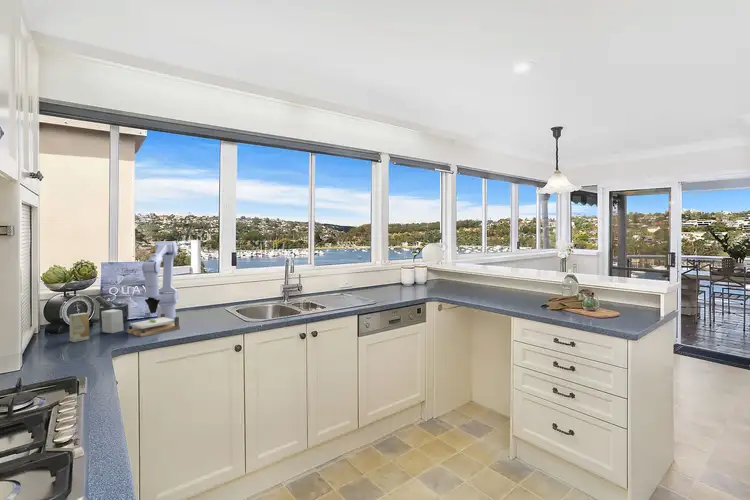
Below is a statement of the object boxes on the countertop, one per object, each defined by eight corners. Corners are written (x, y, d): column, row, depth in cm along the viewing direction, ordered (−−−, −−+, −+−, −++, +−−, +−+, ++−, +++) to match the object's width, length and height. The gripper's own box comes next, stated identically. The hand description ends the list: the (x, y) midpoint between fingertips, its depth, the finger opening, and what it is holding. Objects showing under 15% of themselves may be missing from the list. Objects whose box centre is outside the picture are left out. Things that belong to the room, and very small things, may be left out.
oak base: (126, 332, 187) (126, 320, 186) (164, 324, 201) (163, 313, 201) (141, 336, 177) (140, 324, 177) (179, 328, 192) (179, 316, 192)
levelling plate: (130, 325, 186) (129, 321, 186) (164, 318, 200) (164, 314, 200) (141, 329, 179) (141, 324, 179) (176, 321, 192) (176, 317, 192)
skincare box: (73, 342, 170) (72, 315, 169) (69, 341, 172) (68, 314, 172) (90, 339, 175) (89, 313, 175) (86, 337, 178) (84, 312, 177)
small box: (123, 330, 190) (122, 310, 189) (112, 333, 185) (110, 312, 184) (113, 329, 193) (112, 309, 193) (102, 332, 188) (101, 311, 188)
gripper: (136, 285, 190) (138, 312, 190) (150, 287, 181) (151, 316, 182) (151, 284, 195) (153, 310, 196) (165, 286, 187) (166, 313, 187)
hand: (153, 312), depth 189 cm, fingers closed
